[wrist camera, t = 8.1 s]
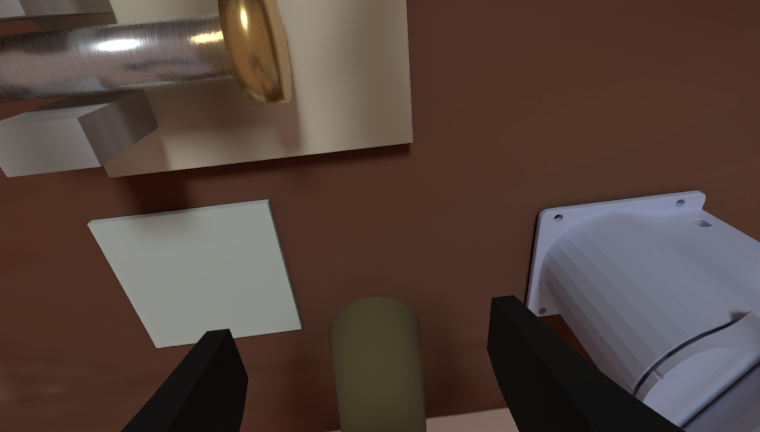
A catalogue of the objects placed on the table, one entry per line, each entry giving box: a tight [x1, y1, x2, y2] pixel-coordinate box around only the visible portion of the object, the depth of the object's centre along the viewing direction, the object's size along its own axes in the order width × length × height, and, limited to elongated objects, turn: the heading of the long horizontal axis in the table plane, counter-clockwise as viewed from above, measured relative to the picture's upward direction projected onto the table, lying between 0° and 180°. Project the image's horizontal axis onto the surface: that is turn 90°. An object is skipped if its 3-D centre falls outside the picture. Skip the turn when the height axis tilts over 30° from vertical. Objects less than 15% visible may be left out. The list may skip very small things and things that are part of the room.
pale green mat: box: [88, 199, 302, 348], centre depth 21 cm, size 9×9×1 cm
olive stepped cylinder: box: [329, 296, 426, 432], centre depth 20 cm, size 6×6×11 cm
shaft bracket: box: [0, 0, 413, 178], centre depth 13 cm, size 14×10×6 cm
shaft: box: [0, 0, 292, 106], centre depth 13 cm, size 11×4×4 cm, turn 95°
